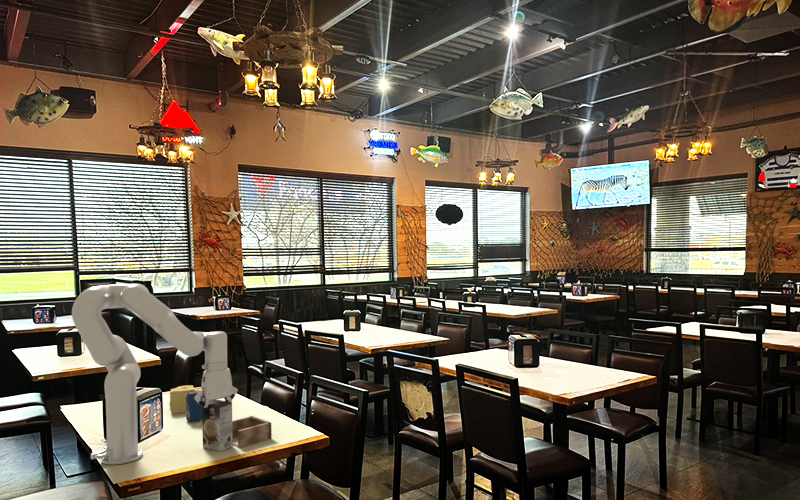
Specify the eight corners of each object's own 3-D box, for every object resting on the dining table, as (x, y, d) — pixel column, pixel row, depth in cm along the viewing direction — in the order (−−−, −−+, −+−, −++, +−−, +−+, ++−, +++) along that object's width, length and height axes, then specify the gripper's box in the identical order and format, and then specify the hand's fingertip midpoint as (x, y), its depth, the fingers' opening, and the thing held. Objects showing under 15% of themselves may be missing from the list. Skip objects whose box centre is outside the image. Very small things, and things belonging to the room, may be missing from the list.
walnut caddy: (239, 447, 195) (239, 431, 195) (221, 439, 204) (220, 423, 204) (271, 438, 204) (271, 422, 204) (252, 431, 214) (252, 415, 214)
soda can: (206, 418, 232) (206, 390, 232) (199, 423, 225) (198, 394, 226) (191, 418, 233) (190, 389, 233) (183, 422, 226) (182, 393, 226)
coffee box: (202, 447, 195) (200, 403, 195) (216, 442, 201) (214, 398, 201) (219, 452, 191) (218, 406, 191) (233, 446, 197) (232, 401, 196)
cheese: (169, 408, 248) (169, 386, 248) (194, 405, 253) (194, 384, 253) (170, 414, 239) (170, 391, 239) (196, 411, 243) (196, 388, 244)
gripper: (198, 371, 187) (198, 423, 187) (243, 363, 200) (243, 412, 200) (188, 368, 192) (188, 419, 192) (233, 361, 205) (233, 408, 205)
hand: (216, 415), depth 196 cm, fingers closed on coffee box, 7 cm apart
